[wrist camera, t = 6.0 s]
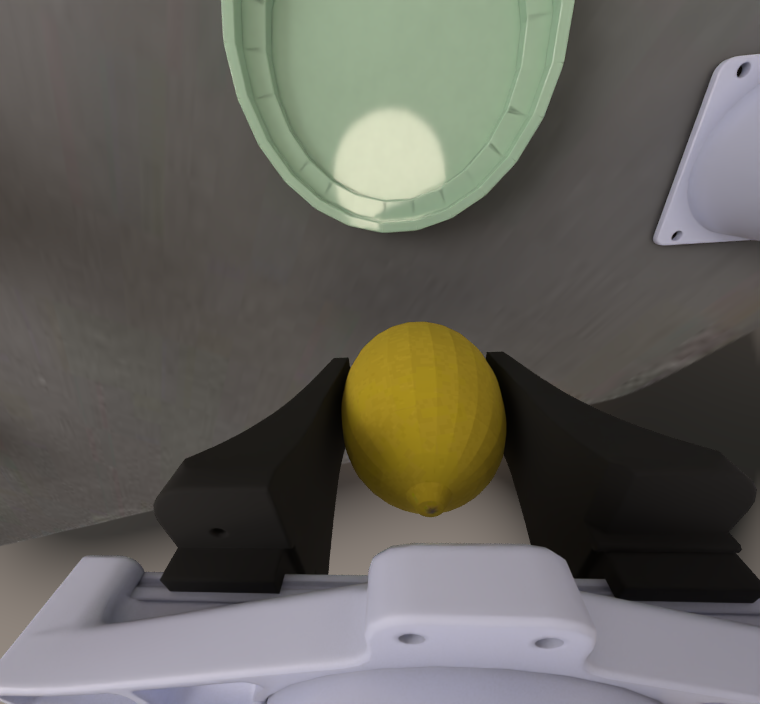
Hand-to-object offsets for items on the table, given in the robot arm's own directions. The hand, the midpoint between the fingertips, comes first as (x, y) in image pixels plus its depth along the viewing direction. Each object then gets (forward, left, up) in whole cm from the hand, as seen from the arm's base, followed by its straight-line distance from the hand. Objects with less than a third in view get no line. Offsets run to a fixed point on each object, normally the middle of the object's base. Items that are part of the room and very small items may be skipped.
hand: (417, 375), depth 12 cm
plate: (0, -12, -9) cm, 15 cm away
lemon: (0, 0, -2) cm, 2 cm away
